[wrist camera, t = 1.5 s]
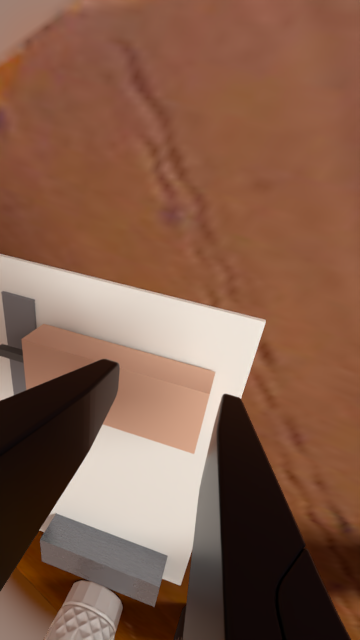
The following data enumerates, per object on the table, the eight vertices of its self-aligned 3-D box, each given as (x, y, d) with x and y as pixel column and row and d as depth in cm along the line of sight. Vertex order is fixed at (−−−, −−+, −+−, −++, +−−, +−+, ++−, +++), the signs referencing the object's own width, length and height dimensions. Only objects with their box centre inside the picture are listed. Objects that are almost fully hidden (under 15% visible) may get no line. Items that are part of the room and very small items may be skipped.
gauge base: (265, 319, 18) (265, 344, 15) (181, 582, 32) (173, 617, 30) (-21, 248, 21) (-62, 259, 18) (18, 518, 35) (-1, 546, 33)
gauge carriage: (215, 371, 20) (209, 394, 18) (200, 428, 22) (194, 454, 20) (5, 312, 22) (-21, 326, 20) (12, 370, 24) (-11, 387, 22)
